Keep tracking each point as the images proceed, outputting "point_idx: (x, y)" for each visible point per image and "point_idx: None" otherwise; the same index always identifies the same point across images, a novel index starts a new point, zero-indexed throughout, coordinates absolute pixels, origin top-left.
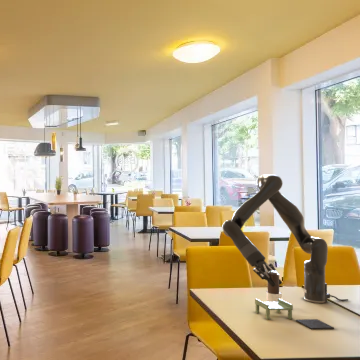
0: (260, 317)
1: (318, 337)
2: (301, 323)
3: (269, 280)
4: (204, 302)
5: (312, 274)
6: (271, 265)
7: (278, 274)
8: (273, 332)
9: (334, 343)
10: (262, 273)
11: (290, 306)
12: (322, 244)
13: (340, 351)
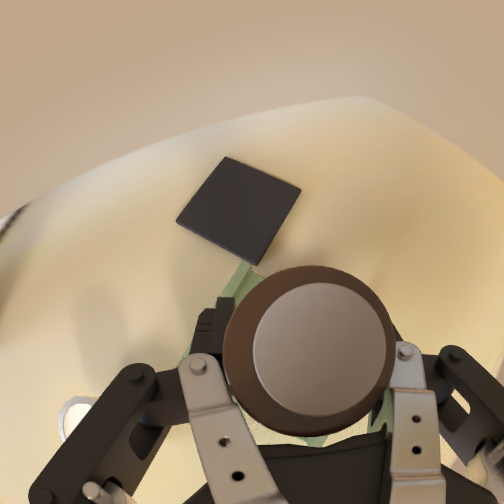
0: None
1: (349, 157)
2: (275, 234)
3: (395, 339)
4: None
5: None
6: (74, 492)
7: (306, 268)
8: (441, 247)
9: (348, 125)
10: (492, 379)
11: (249, 273)
12: None
13: (379, 110)
